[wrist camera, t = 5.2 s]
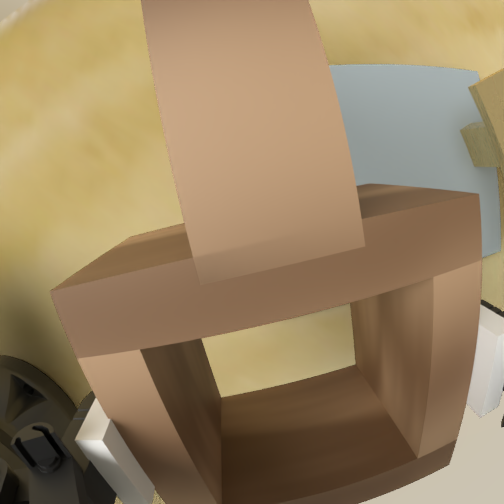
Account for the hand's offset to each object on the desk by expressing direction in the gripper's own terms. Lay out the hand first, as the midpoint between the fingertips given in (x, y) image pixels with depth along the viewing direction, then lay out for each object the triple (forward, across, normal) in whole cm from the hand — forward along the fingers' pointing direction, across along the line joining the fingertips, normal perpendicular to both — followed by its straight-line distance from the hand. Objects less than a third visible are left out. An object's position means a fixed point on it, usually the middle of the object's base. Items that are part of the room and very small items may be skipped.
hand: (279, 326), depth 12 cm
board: (+15, +14, +4) cm, 21 cm away
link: (0, 0, +6) cm, 6 cm away
